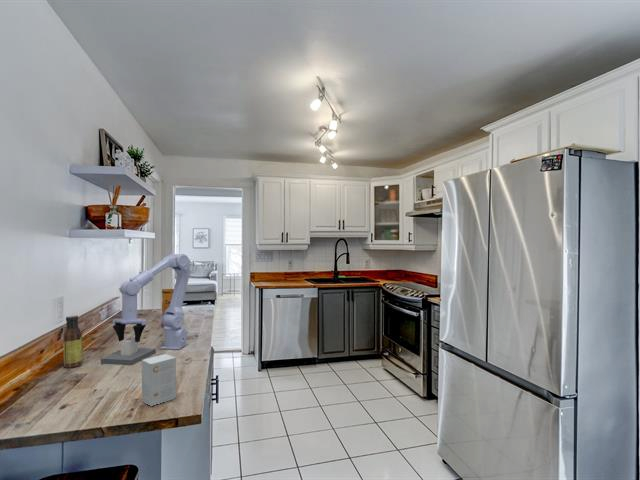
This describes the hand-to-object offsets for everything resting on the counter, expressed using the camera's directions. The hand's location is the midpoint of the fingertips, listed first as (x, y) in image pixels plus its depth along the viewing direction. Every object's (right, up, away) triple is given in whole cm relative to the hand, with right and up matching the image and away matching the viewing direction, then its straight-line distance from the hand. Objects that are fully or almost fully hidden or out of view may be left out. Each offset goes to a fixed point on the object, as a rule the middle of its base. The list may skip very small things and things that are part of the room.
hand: (129, 341), depth 152 cm
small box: (+31, -7, -41) cm, 52 cm away
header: (0, -7, 0) cm, 7 cm away
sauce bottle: (-18, -7, -9) cm, 21 cm away
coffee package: (-8, -8, +63) cm, 64 cm away
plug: (0, -7, 0) cm, 7 cm away
